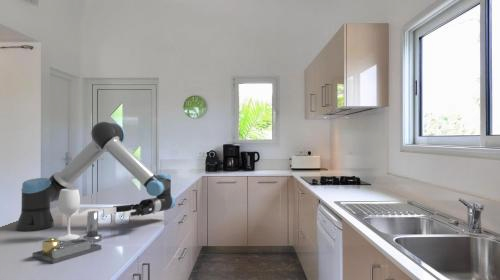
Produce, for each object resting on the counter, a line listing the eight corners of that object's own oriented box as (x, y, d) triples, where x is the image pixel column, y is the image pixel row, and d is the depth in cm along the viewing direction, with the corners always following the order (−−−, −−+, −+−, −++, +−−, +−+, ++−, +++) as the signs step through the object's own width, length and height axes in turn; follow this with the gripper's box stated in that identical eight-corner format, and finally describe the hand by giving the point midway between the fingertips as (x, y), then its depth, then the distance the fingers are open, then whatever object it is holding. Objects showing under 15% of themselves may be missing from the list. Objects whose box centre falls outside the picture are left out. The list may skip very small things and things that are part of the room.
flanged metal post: (79, 241, 132) (79, 212, 132) (94, 237, 138) (95, 209, 139) (89, 244, 129) (90, 214, 129) (105, 239, 135) (105, 211, 135)
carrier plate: (31, 256, 113) (31, 238, 113) (79, 243, 129) (80, 227, 129) (53, 263, 106) (53, 244, 107) (101, 249, 122) (101, 232, 122)
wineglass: (69, 241, 132) (70, 190, 132) (51, 240, 133) (52, 190, 134) (84, 236, 140) (85, 188, 141) (67, 235, 142) (68, 187, 142)
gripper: (168, 216, 155) (132, 225, 136) (132, 211, 167) (95, 219, 148) (168, 200, 155) (132, 207, 136) (132, 197, 167) (95, 203, 148)
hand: (113, 213), depth 142 cm, fingers open, 13 cm apart
